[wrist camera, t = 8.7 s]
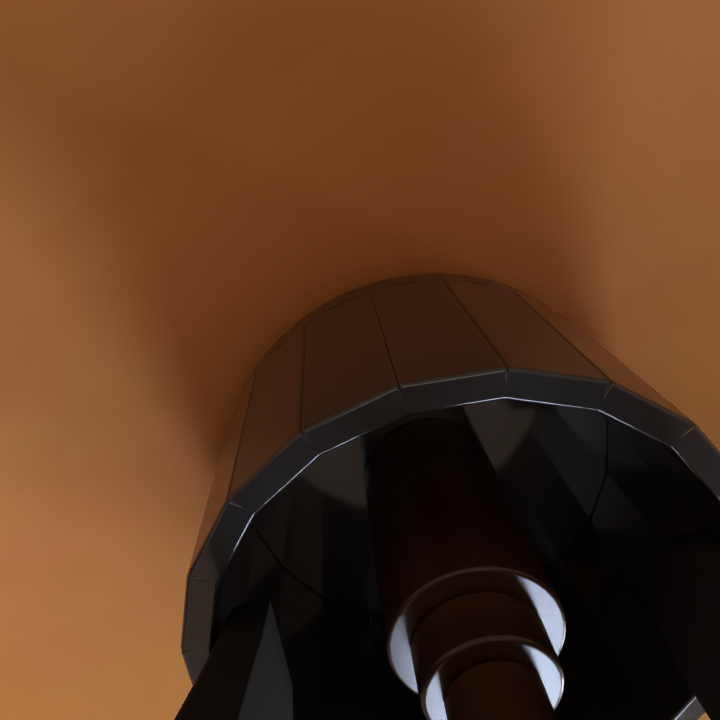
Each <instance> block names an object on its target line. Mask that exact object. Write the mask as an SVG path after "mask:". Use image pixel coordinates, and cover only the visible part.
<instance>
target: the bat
mask: <svg viewBox="0 0 720 720" xmlns="http://www.w3.org/2000/svg"><path fill="white" fill-rule="evenodd" d="M364 485H365V493H366V501H367V509H368V516H369V524H370V532H371V540H372V547H373V555H374V563H375V570H376V578H377V586H378V594H379V601H380V609H381V617H382V624H383V632H384V640H385V647H386V653H387V658H388V661H389V664H390V666H391V668H392V670H393V671H394V673H395V675H396V676H397V677H398V679H399V680H400V681H401V682H402V683H403V684H404V685H405V686H406V687H407V688H408V689H410V690H411V691H412V692H414V693H416V694H417V695H418V696H419V701H420V706H421V709H422V711H423V714H424V715H425V717H426V718H427V720H558V719H557V716H556V714H555V711H554V710H555V709H556V707H557V706H558V704H559V702H560V699H561V697H562V694H563V690H564V672H563V668H562V665H561V663H560V660H559V658H558V656H559V654H560V652H561V649H562V647H563V644H564V640H565V634H566V616H565V613H564V609H563V606H562V604H561V602H560V600H559V598H558V596H557V593H556V591H555V589H554V587H553V585H552V583H551V581H550V579H549V577H548V575H547V573H546V571H545V569H544V567H543V565H542V563H541V561H540V559H539V557H538V555H537V553H536V551H535V549H534V547H533V545H532V543H531V541H530V539H529V537H528V535H527V533H526V531H525V529H524V527H523V525H522V523H521V521H520V519H519V517H518V515H517V513H516V511H515V509H514V507H513V505H512V503H511V501H510V499H509V497H508V495H507V493H506V491H505V489H504V487H503V485H502V483H501V481H500V479H499V477H498V475H497V473H496V471H495V469H494V467H493V465H492V463H491V461H490V459H489V457H488V455H487V453H486V451H485V449H484V447H483V445H482V444H481V442H480V441H479V440H478V439H477V438H476V437H475V436H474V435H473V434H471V433H470V432H469V431H467V430H466V429H464V428H462V427H460V426H457V425H455V424H452V423H448V422H443V421H431V420H430V421H420V422H415V423H411V424H408V425H405V426H403V427H401V428H399V429H397V430H395V431H394V432H392V433H390V434H389V435H388V436H387V437H385V438H384V439H383V440H382V441H381V442H380V443H379V444H378V445H377V447H376V448H375V449H374V451H373V452H372V454H371V456H370V457H369V460H368V462H367V465H366V469H365V475H364Z"/></svg>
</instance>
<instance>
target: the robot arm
mask: <svg viewBox="0 0 720 720" xmlns="http://www.w3.org/2000/svg"><path fill="white" fill-rule="evenodd" d="M658 627H659V629H660V631H661V633H662V635H663V637H664V639H665V641H666V643H667V645H668V647H669V649H670V652H671V654H672V656H673V658H674V659H675V661H676V663H677V665H678V667H679V669H680V671H681V673H682V675H683V676H684V678H685V680H686V682H687V684H688V686H689V687H690V689H691V690H692V692H693V693H694V695H695V696H696V698H697V700H698V701H699V703H700V704H701V706H702V707H703V709H704V710H705V712H706V713H707V715H708V716H709V718H710V719H711V720H720V544H719V543H717V542H716V541H714V540H712V539H711V538H709V537H707V536H706V535H704V534H702V533H701V532H699V531H697V530H696V531H690V532H684V533H678V534H672V535H665V536H662V546H661V567H660V589H659V610H658ZM174 720H293V686H292V682H291V678H290V674H289V670H288V666H287V662H286V659H285V655H284V651H283V647H282V643H281V639H280V635H279V631H278V628H277V624H276V620H275V616H274V612H273V608H272V604H271V600H266V601H259V602H253V603H247V604H241V605H235V607H234V608H233V609H232V610H231V612H230V614H229V616H228V618H227V620H226V622H225V624H224V626H223V629H222V631H221V633H220V635H219V637H218V639H217V641H216V643H215V645H214V647H213V649H212V651H211V653H210V655H209V657H208V659H207V661H206V663H205V665H204V666H203V668H202V670H201V672H200V674H199V676H198V678H197V680H196V682H195V683H194V685H193V687H192V689H191V691H190V692H189V694H188V696H187V698H186V700H185V701H184V703H183V705H182V707H181V709H180V710H179V712H178V714H177V716H176V718H175V719H174Z"/></svg>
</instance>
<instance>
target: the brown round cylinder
mask: <svg viewBox="0 0 720 720" xmlns="http://www.w3.org/2000/svg"><path fill="white" fill-rule="evenodd" d="M430 420H431V421H443V422H448V423H452V424H455V425H457V426H460V427H462V428H464V429H466V430H467V431H469V432H470V433H471V434H473V435H474V436H475V437H476V438H477V439H478V440H479V441H480V442H481V444H482V445H483V447H484V449H485V451H486V453H487V455H488V457H489V459H490V461H491V463H492V465H493V467H494V469H495V471H496V473H497V475H498V477H499V479H500V481H501V483H502V485H503V487H504V489H505V491H506V493H507V495H508V497H509V499H510V501H511V503H512V505H513V507H514V509H515V511H516V513H517V515H518V517H519V519H520V521H521V523H522V525H523V527H524V529H525V531H526V533H527V535H528V537H529V539H530V541H531V543H532V545H533V547H534V549H535V551H536V553H537V555H538V557H539V559H540V561H541V563H542V565H543V567H544V569H545V571H546V573H547V575H548V577H549V579H550V581H551V583H552V585H553V587H554V589H555V591H556V593H557V596H558V598H559V600H560V602H561V604H562V606H563V609H564V613H565V616H566V634H565V640H564V644H563V647H562V649H561V652H560V654H559V656H558V658H559V660H560V663H561V665H562V668H563V672H564V690H563V694H562V697H561V699H560V702H559V704H558V706H557V707H556V709H555V710H554V711H555V714H556V716H557V719H558V720H698V719H699V718H700V717H701V716H702V715H703V714H704V713H705V710H704V709H703V707H702V706H701V704H700V703H699V701H698V700H697V698H696V696H695V695H694V693H693V692H692V690H691V689H690V687H689V686H688V684H687V682H686V680H685V678H684V676H683V675H682V673H681V671H680V669H679V667H678V665H677V663H676V661H675V659H674V658H673V656H672V654H671V652H670V649H669V647H668V645H667V643H666V641H665V639H664V637H663V635H662V633H661V631H660V629H659V627H658V610H659V589H660V567H661V546H662V536H665V535H672V534H678V533H684V532H690V531H696V530H697V531H699V532H701V533H702V534H704V535H706V536H707V537H709V538H711V539H712V540H714V541H716V542H717V543H719V544H720V452H719V450H718V449H717V448H716V447H715V446H714V445H713V444H712V442H711V441H710V440H709V439H708V438H707V437H706V435H705V434H704V433H703V432H702V431H701V430H700V428H699V427H698V426H697V425H696V424H695V423H694V422H693V421H691V420H690V419H689V418H688V417H687V416H685V415H684V414H683V413H682V412H681V411H679V410H678V409H677V408H676V407H675V406H673V405H672V404H671V403H670V402H668V401H667V400H666V399H665V398H664V397H662V396H661V395H660V394H659V393H658V392H656V391H655V390H654V389H653V388H652V387H650V386H649V385H648V384H647V383H646V382H644V381H643V380H642V379H641V378H640V377H638V376H637V375H636V374H635V373H634V372H632V371H631V370H630V369H629V368H628V367H626V366H625V365H624V364H623V363H621V362H620V361H619V360H618V359H617V358H615V357H614V356H613V355H612V354H611V353H609V352H608V351H607V350H606V349H605V348H603V347H602V346H601V345H600V344H599V343H597V342H596V341H595V340H594V339H593V338H591V337H590V336H589V335H588V334H587V333H585V332H584V331H583V330H582V329H581V328H579V327H578V326H577V325H576V324H574V323H573V322H572V321H571V320H569V319H568V318H567V317H565V316H563V315H561V314H559V313H557V312H555V311H554V310H553V309H551V308H550V307H548V306H547V305H546V304H544V303H543V302H541V301H539V300H537V299H535V298H533V297H531V296H529V295H527V294H525V293H523V292H522V291H520V290H517V289H514V288H511V287H509V286H506V285H503V284H500V283H497V282H494V281H490V280H485V279H480V278H475V277H469V276H463V275H446V274H429V275H414V276H405V277H400V278H395V279H390V280H385V281H380V282H377V283H374V284H371V285H368V286H365V287H362V288H359V289H356V290H353V291H351V292H349V293H346V294H344V295H342V296H340V297H338V298H336V299H334V300H332V301H330V302H328V303H326V304H324V305H323V306H321V307H320V308H318V309H317V310H315V311H314V312H312V313H311V314H309V315H307V316H306V317H304V318H303V319H302V320H300V321H299V322H298V323H297V324H296V325H295V326H293V327H292V328H291V329H290V330H289V331H288V332H286V333H285V334H284V335H283V336H282V337H281V338H280V339H279V340H278V341H277V342H276V344H275V345H274V346H273V347H272V348H271V349H270V350H269V351H268V353H267V354H266V355H265V356H264V357H263V359H262V360H261V362H260V363H259V365H258V366H257V368H256V369H255V371H254V372H253V374H252V375H251V377H250V378H249V380H248V382H247V384H246V386H245V388H244V390H243V392H242V395H241V397H240V399H239V401H238V404H237V407H236V410H235V413H234V415H233V417H232V419H231V421H230V423H229V425H228V429H227V432H226V436H225V440H224V443H223V447H222V451H221V454H220V458H219V462H218V465H217V469H216V472H215V476H214V480H213V483H212V487H211V491H210V494H209V498H208V501H207V505H206V509H205V512H204V516H203V520H202V523H201V527H200V531H199V534H198V538H197V541H196V545H195V549H194V552H193V556H192V560H191V563H190V567H189V571H188V574H187V580H186V591H185V603H184V614H183V626H182V638H181V649H182V655H183V658H184V661H185V664H186V667H187V670H188V673H189V676H190V678H191V681H192V684H193V685H194V683H195V682H196V680H197V678H198V676H199V674H200V672H201V670H202V668H203V666H204V665H205V663H206V661H207V659H208V657H209V655H210V653H211V651H212V649H213V647H214V645H215V643H216V641H217V639H218V637H219V635H220V633H221V631H222V629H223V626H224V624H225V622H226V620H227V618H228V616H229V614H230V612H231V610H232V609H233V608H234V607H235V605H241V604H247V603H253V602H259V601H266V600H271V604H272V608H273V612H274V616H275V620H276V624H277V628H278V631H279V635H280V639H281V643H282V647H283V651H284V655H285V659H286V662H287V666H288V670H289V674H290V678H291V682H292V686H293V720H427V718H426V717H425V715H424V714H423V711H422V709H421V706H420V701H419V696H418V695H417V694H416V693H414V692H412V691H411V690H410V689H408V688H407V687H406V686H405V685H404V684H403V683H402V682H401V681H400V680H399V679H398V677H397V676H396V675H395V673H394V671H393V670H392V668H391V666H390V664H389V661H388V658H387V653H386V647H385V640H384V632H383V624H382V617H381V609H380V601H379V594H378V586H377V578H376V570H375V563H374V555H373V547H372V540H371V532H370V524H369V516H368V509H367V501H366V493H365V485H364V475H365V469H366V465H367V462H368V460H369V457H370V456H371V454H372V452H373V451H374V449H375V448H376V447H377V445H378V444H379V443H380V442H381V441H382V440H383V439H384V438H385V437H387V436H388V435H389V434H390V433H392V432H394V431H395V430H397V429H399V428H401V427H403V426H405V425H408V424H411V423H415V422H420V421H430Z"/></svg>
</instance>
